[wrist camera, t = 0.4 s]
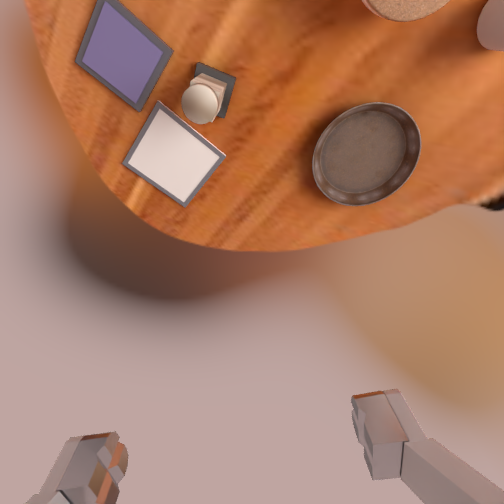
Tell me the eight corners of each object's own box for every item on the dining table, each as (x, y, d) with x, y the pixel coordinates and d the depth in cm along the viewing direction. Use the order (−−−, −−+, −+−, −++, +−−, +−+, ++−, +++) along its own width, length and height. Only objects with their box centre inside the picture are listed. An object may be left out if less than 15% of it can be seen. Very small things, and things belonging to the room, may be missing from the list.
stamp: (199, 61, 45) (180, 71, 36) (236, 77, 46) (227, 90, 37) (190, 102, 48) (172, 119, 40) (225, 116, 49) (214, 136, 41)
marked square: (158, 100, 48) (157, 100, 48) (226, 155, 53) (225, 156, 53) (123, 162, 55) (121, 163, 55) (185, 206, 60) (185, 207, 60)
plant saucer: (347, 78, 45) (351, 81, 43) (438, 126, 49) (447, 132, 46) (293, 177, 55) (294, 184, 53) (371, 211, 59) (375, 219, 56)
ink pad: (104, -12, 40) (100, -13, 39) (174, 51, 44) (171, 51, 43) (77, 61, 46) (73, 62, 45) (141, 111, 50) (138, 112, 49)
